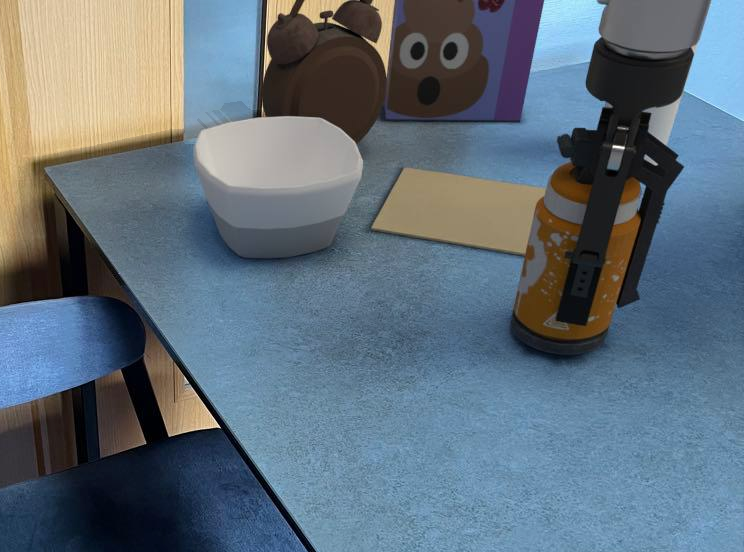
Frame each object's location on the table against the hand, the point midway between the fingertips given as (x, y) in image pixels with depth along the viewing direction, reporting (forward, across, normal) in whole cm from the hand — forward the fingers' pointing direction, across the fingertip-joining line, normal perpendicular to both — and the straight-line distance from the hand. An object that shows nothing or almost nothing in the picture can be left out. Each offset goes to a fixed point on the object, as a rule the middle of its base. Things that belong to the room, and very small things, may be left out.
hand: (577, 294), depth 96 cm
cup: (+5, -43, +2) cm, 43 cm away
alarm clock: (+5, -30, -34) cm, 46 cm away
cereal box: (+5, -48, -21) cm, 53 cm away
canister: (+5, 0, 0) cm, 5 cm away
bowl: (+5, -10, -33) cm, 35 cm away
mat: (+5, -22, -13) cm, 26 cm away
